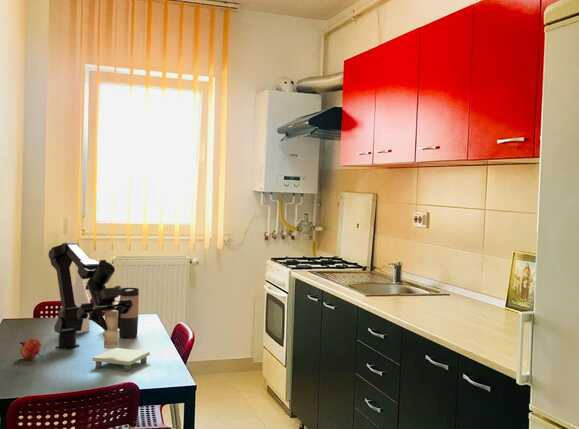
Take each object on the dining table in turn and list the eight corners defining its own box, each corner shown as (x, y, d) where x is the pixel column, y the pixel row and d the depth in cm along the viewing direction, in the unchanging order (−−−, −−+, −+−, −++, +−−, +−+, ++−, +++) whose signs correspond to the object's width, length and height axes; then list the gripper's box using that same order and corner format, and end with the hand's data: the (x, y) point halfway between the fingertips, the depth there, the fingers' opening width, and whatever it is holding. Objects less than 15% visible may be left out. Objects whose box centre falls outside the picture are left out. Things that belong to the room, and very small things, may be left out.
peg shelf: (114, 357, 219) (114, 347, 219) (149, 361, 215) (149, 351, 215) (92, 368, 205) (92, 357, 205) (128, 372, 202) (129, 361, 202)
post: (105, 345, 209) (106, 309, 209) (118, 345, 209) (119, 310, 209) (102, 348, 205) (103, 312, 204) (115, 349, 205) (116, 312, 204)
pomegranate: (35, 361, 219) (11, 347, 214) (48, 344, 220) (25, 330, 216) (37, 368, 212) (13, 354, 208) (51, 351, 214) (27, 337, 209)
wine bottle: (92, 329, 262) (94, 260, 261) (85, 334, 253) (87, 263, 252) (70, 328, 262) (72, 259, 261) (62, 333, 252) (64, 262, 252)
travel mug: (131, 333, 256) (133, 287, 256) (141, 337, 251) (142, 289, 250) (115, 336, 251) (116, 288, 250) (124, 339, 246) (125, 291, 245)
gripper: (81, 280, 202) (95, 318, 195) (131, 276, 216) (146, 312, 208) (70, 299, 208) (83, 338, 201) (119, 295, 221) (134, 330, 214)
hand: (113, 329), depth 206 cm, fingers closed on post, 4 cm apart
